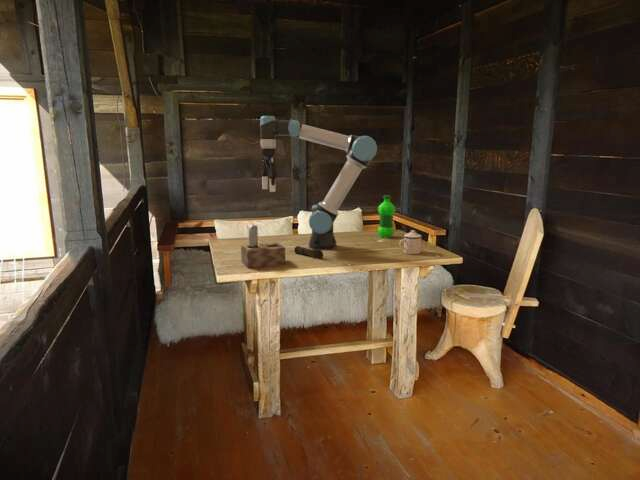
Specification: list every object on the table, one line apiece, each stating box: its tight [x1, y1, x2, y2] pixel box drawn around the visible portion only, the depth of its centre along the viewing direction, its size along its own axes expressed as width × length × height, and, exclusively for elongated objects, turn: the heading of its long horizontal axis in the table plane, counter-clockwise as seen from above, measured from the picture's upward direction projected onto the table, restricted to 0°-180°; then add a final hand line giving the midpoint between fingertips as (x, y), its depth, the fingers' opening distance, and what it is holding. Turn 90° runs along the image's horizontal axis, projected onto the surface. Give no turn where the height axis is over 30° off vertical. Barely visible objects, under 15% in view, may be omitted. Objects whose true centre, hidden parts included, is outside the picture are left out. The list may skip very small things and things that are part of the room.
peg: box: [248, 224, 259, 248], centre depth 222 cm, size 4×4×16 cm
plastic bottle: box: [377, 194, 396, 238], centre depth 286 cm, size 10×10×25 cm
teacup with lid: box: [399, 229, 423, 255], centre depth 248 cm, size 12×9×12 cm
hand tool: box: [294, 245, 324, 260], centre depth 240 cm, size 19×4×5 cm, turn 42°
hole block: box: [240, 242, 286, 269], centre depth 225 cm, size 18×12×8 cm, turn 112°
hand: (268, 190), depth 244 cm, fingers open, 13 cm apart
